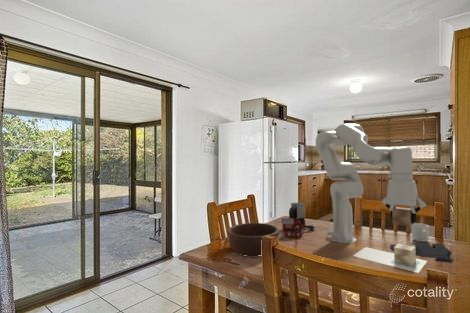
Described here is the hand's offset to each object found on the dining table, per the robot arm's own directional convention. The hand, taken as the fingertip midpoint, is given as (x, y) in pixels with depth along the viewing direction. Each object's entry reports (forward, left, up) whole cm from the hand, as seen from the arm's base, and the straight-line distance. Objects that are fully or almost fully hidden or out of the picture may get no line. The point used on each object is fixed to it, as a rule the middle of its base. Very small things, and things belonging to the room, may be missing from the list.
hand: (403, 221), depth 104 cm
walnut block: (0, 0, -1) cm, 1 cm away
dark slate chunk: (+1, +18, -18) cm, 25 cm away
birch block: (0, 0, -16) cm, 16 cm away
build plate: (-6, 0, -18) cm, 19 cm away
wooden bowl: (-57, -29, -18) cm, 66 cm away
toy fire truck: (-55, +2, -18) cm, 58 cm away
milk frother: (-60, +20, -18) cm, 66 cm away
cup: (-2, +38, -18) cm, 42 cm away
